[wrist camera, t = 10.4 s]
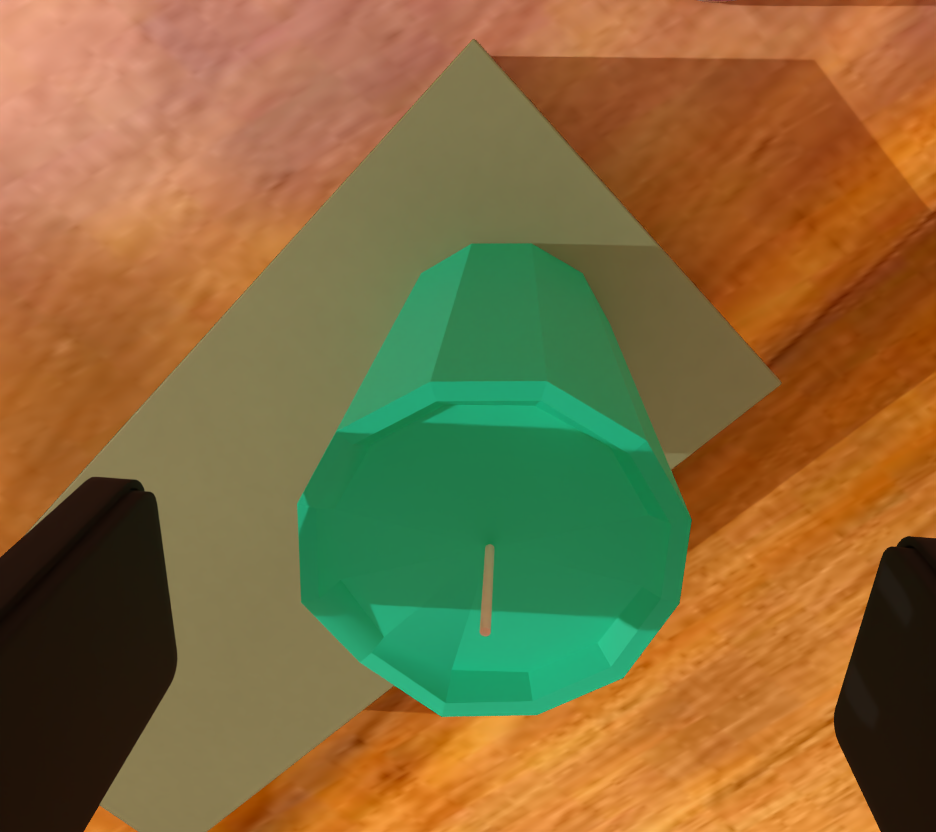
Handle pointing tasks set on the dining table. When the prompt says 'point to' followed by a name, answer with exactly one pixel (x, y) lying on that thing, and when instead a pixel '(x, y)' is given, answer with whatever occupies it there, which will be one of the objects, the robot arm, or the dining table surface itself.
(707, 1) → the supplement bottle
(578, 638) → the candle
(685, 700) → the dining table surface
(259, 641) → the shelf
